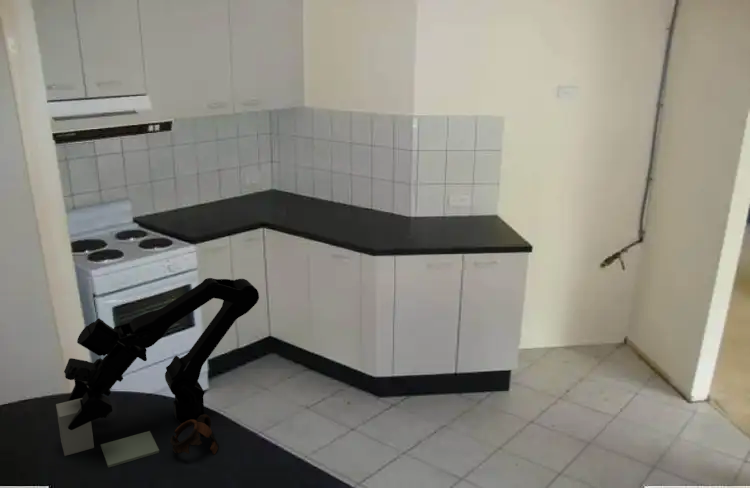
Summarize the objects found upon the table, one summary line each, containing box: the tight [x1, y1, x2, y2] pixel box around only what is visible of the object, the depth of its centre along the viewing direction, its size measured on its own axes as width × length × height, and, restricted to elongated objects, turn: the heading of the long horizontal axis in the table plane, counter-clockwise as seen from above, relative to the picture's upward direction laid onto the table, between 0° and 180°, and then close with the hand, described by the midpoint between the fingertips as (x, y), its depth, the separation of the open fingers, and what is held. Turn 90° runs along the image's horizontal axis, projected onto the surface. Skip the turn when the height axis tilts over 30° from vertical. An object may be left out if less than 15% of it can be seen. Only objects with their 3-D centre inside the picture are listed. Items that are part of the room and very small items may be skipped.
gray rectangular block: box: [55, 398, 95, 457], centre depth 145 cm, size 6×6×10 cm
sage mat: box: [100, 430, 160, 468], centre depth 145 cm, size 11×9×1 cm
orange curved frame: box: [169, 413, 219, 455], centre depth 146 cm, size 12×10×8 cm
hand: (67, 419), depth 144 cm, fingers open, 9 cm apart
